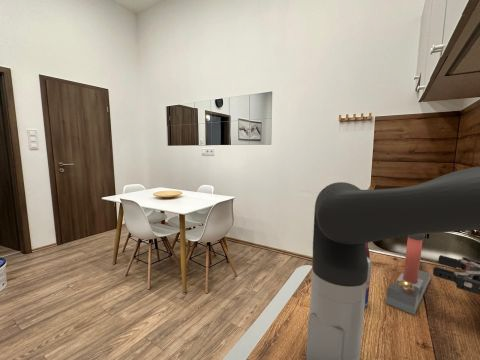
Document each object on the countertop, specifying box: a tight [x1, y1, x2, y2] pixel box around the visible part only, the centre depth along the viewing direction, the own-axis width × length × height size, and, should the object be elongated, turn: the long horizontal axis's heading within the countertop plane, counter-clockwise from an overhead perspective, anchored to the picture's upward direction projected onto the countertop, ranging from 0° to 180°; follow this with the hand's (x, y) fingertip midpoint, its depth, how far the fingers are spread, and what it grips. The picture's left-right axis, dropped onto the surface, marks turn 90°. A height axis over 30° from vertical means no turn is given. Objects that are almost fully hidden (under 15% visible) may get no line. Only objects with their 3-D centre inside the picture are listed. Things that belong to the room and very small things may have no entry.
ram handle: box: [396, 233, 426, 292], centre depth 66 cm, size 5×5×17 cm
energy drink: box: [364, 257, 373, 309], centre depth 62 cm, size 5×5×12 cm
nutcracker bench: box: [385, 269, 431, 316], centre depth 68 cm, size 22×6×6 cm, turn 135°
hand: (436, 264), depth 63 cm, fingers open, 8 cm apart
